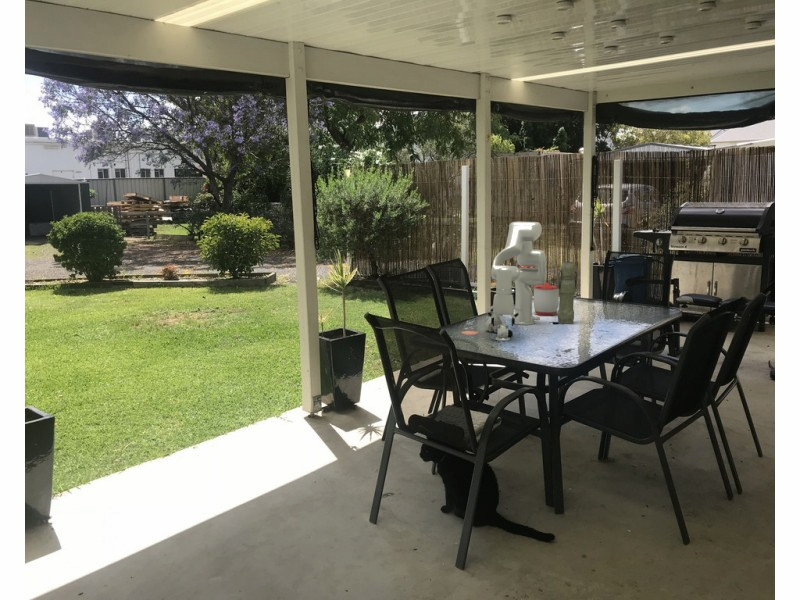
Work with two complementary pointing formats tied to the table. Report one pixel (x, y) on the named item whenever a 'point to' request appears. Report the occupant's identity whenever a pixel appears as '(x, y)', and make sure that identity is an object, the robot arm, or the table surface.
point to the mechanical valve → (497, 321)
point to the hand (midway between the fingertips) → (502, 325)
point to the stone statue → (566, 292)
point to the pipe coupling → (503, 333)
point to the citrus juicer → (546, 299)
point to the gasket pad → (469, 332)
